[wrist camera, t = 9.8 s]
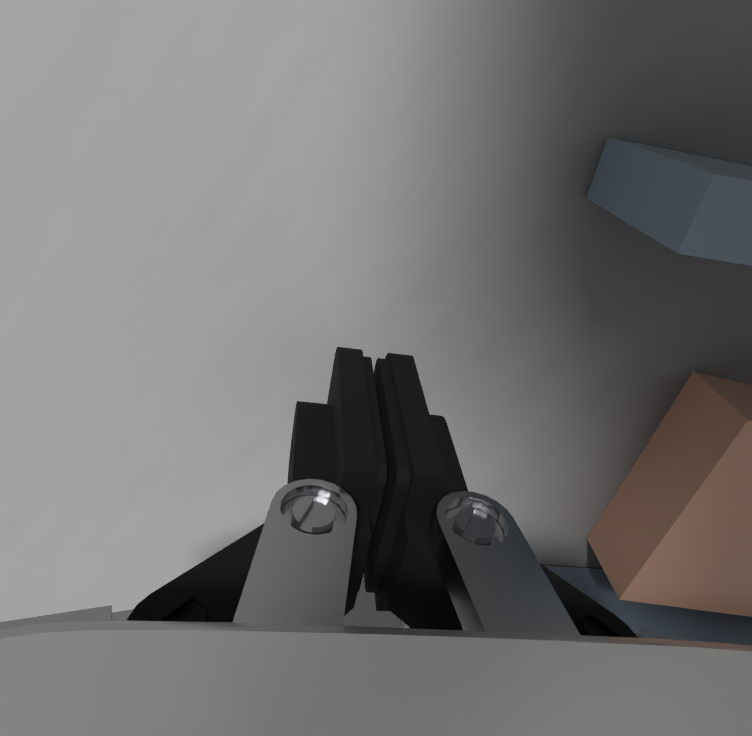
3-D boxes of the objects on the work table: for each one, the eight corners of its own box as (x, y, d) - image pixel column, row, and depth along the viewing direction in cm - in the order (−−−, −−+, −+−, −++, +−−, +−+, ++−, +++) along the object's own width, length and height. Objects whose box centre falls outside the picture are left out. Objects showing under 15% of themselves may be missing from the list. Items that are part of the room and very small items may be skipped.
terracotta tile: (684, 363, 14) (748, 420, 12) (867, 406, 16) (954, 464, 14) (582, 529, 17) (619, 599, 15) (744, 555, 18) (799, 623, 16)
